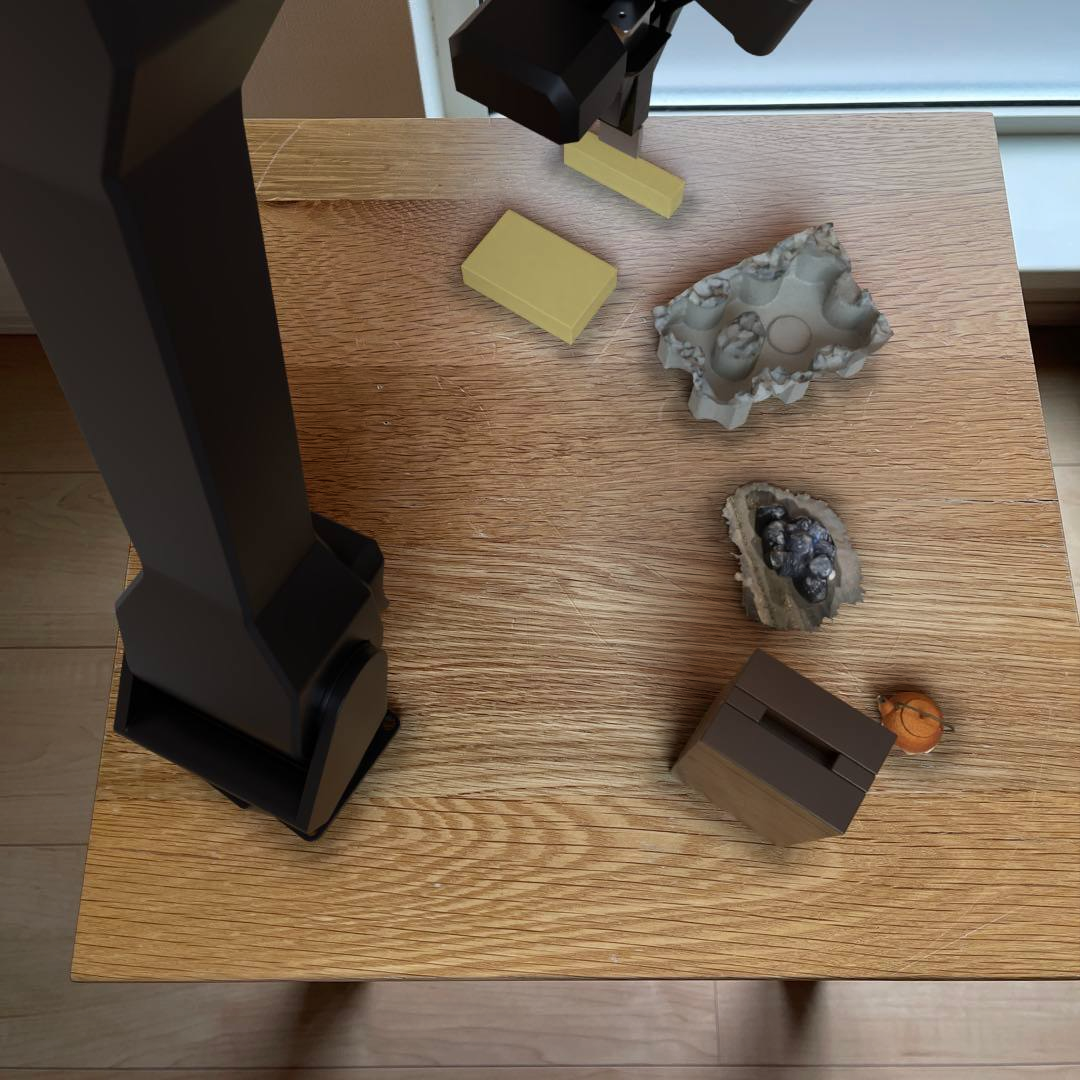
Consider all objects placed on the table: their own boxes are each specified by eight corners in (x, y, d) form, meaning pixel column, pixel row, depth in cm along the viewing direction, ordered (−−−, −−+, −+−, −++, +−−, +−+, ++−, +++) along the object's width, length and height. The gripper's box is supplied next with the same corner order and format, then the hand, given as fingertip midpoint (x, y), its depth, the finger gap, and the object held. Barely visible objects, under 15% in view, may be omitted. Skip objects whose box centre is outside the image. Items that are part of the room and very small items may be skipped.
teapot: (898, 766, 42) (919, 758, 39) (864, 703, 43) (883, 691, 40) (955, 740, 42) (980, 731, 40) (920, 679, 43) (942, 666, 41)
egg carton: (817, 263, 51) (839, 212, 47) (887, 375, 49) (915, 331, 45) (637, 328, 50) (645, 281, 46) (699, 447, 47) (712, 407, 43)
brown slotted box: (779, 848, 41) (844, 835, 31) (668, 773, 42) (699, 740, 33) (824, 769, 42) (899, 735, 33) (714, 698, 43) (757, 646, 34)
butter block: (571, 345, 50) (571, 328, 48) (463, 283, 51) (460, 265, 49) (616, 286, 51) (618, 268, 49) (509, 227, 52) (508, 208, 51)
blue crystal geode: (773, 660, 43) (783, 650, 42) (677, 522, 46) (682, 507, 44) (890, 588, 45) (904, 575, 43) (790, 456, 47) (799, 439, 45)
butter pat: (668, 219, 52) (671, 199, 51) (563, 164, 54) (563, 143, 52) (682, 201, 53) (686, 181, 51) (577, 146, 54) (578, 125, 53)
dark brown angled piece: (630, 167, 49) (644, 36, 42) (591, 147, 50) (598, 14, 42) (646, 147, 50) (663, 14, 42) (608, 127, 50) (618, -8, 43)
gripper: (712, 22, 28) (659, 317, 43) (981, -305, 34) (853, 57, 48) (416, -118, 31) (462, 207, 45) (711, -404, 36) (666, -29, 51)
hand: (621, 108), depth 47 cm, fingers closed on dark brown angled piece, 2 cm apart
